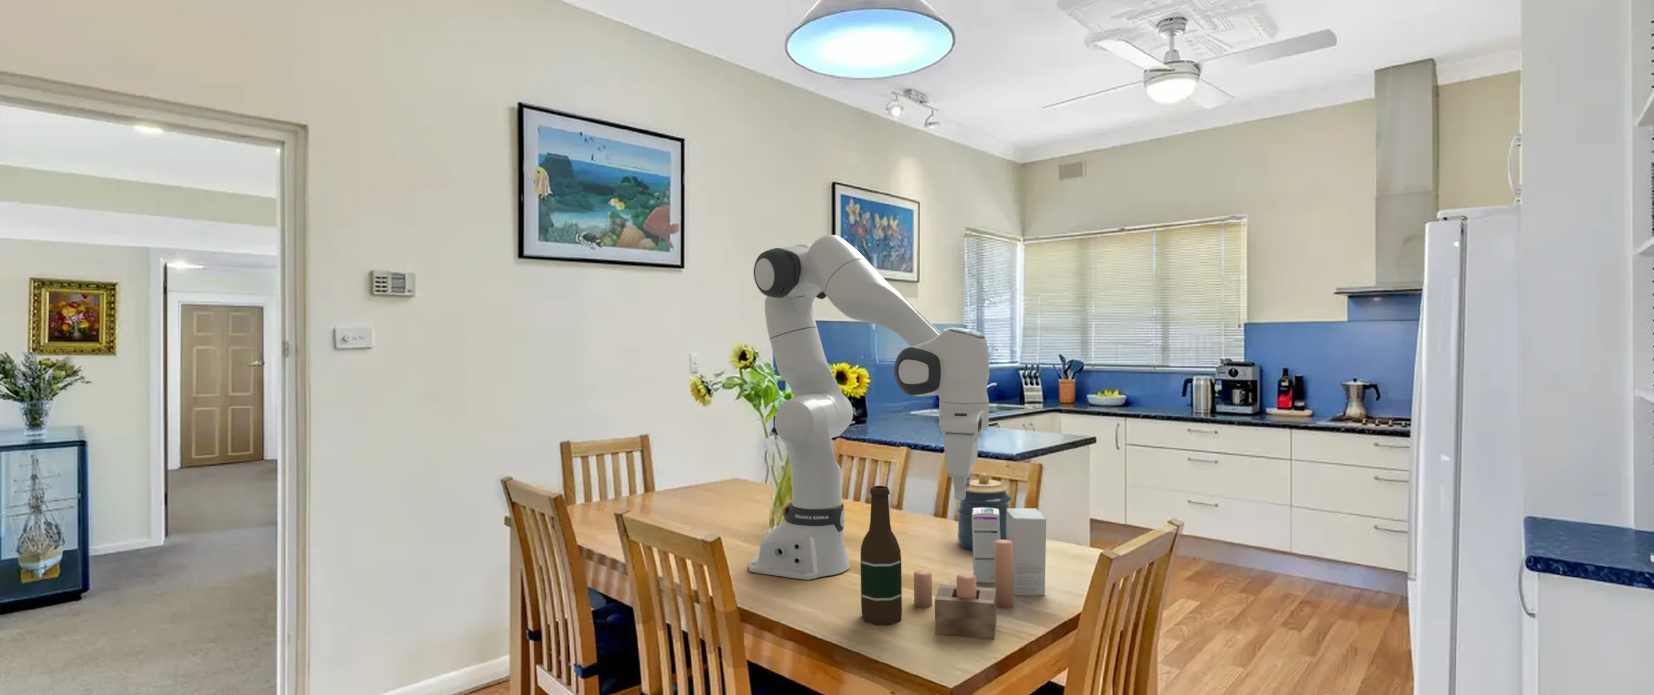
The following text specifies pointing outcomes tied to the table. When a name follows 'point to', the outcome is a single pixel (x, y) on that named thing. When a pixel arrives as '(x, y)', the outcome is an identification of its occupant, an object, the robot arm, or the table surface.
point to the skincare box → (1027, 550)
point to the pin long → (1003, 573)
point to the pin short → (922, 588)
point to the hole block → (965, 613)
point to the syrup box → (984, 542)
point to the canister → (981, 506)
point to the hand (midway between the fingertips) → (962, 493)
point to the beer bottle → (880, 565)
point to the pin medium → (966, 586)
